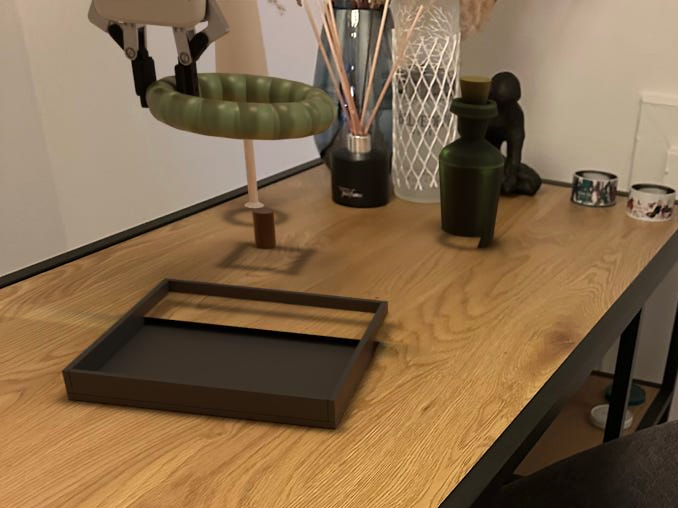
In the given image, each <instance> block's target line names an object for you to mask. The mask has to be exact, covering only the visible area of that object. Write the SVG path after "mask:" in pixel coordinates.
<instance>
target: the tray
mask: <svg viewBox="0 0 678 508" xmlns="http://www.w3.org/2000/svg"><path fill="white" fill-rule="evenodd" d="M169 293H179V294H187V295H199V296H208V297H209V296H210V297H218V298H227V299H237V300H246V301H254V302H255V301H256V302H264V303H265V302H266V303H275V304H284V305H293V306H294V305H295V306H304V307H312V308H321V309H322V308H323V309H331V310H333V309H334V310H341V311H342V310H343V311H349V312H350V311H352V312H361V313H369V314H370V313H371V314H374V315H373V317H372V318H371V320H370V322H369V324H368V325H367V328H366V329H365V331H364V333H363V335H362V336H361V339H360V338H359V339H358V338H349V337H339V336H331V335H321V334H311V333H304V332H303V333H302V332H292V331H284V330H273V329H266V328H264V329H263V328H255V327H247V326H237V325H226V324H218V323H209V322H208V323H207V322H198V321H191V320H190V321H189V320H181V319H170V318H162V317H161V318H160V317H153V316H151V317H150V316H146V315H147V314H148V313H150V311H151V310H152V309H153V308H154V307H155V306H157V305H158V304H159V303H160V302H161V301H162V300H163V299H164V298H165V297H166V296H168V295H169ZM388 313H389V301H388V300H379V299H370V298H360V297H351V296H342V295H341V296H340V295H333V294H322V293H313V292H302V291H293V290H284V289H275V288H265V287H256V286H245V285H236V284H226V283H217V282H207V281H198V280H188V279H179V278H168V277H164V278H163V279H162V280H161V281H160V282H158V283H157V285H155V286H154V287H153V288H152V289H151V290H150V291H149V292H148V293H147V294H145V295H144V296H143V297H142V298H141V299H140V300H139V301H138V302H136V304H134V305H133V306H131V308H130V309H129V310H128V311H126V312H125V313H123V315H122V316H121V317H120V318H119V319H117V321H115V322H114V323H113V324H112V325H111V326H110V327H109V328H107V329H106V330H105V331H104V332H103V333H102V334H101V335H99V337H98V338H96V339H95V340H94V341H93V342H92V343H91V344H89V345H88V346H87V347H86V348H85V349H84V350H83V351H82V352H80V353H79V355H77V356H76V357H75V358H74V359H73V360H72V361H71V362H70V363H69V364H67V365H66V366H65V367H64V368H63V369H62V370H61V373H62V378H63V383H64V386H65V387H64V388H65V391H66V395H67V399H68V400H72V401H82V402H91V403H101V404H109V405H115V406H116V405H117V406H127V407H136V408H145V409H153V410H161V411H162V410H163V411H170V412H181V413H190V414H197V415H206V416H207V415H208V416H214V417H215V416H216V417H217V416H218V417H225V418H235V419H243V420H251V421H263V422H272V423H279V424H288V425H297V426H305V427H306V426H308V427H316V428H324V429H335V430H336V429H337V427H338V425H339V423H340V422H341V419H342V417H343V415H344V413H345V411H346V409H347V408H348V405H349V403H350V401H351V399H352V397H353V396H354V393H355V391H356V390H357V387H358V386H359V384H360V381H361V380H362V378H363V376H364V374H365V372H366V370H367V368H368V366H369V364H370V362H371V360H372V358H373V356H374V354H375V352H376V350H377V349H378V346H379V344H380V341H378V340H375V338H376V336H377V335H378V333H379V330H380V329H381V327H382V324H383V323H384V321H385V319H386V318H387V315H388Z"/></svg>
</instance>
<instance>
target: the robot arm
mask: <svg viewBox="0 0 678 508" xmlns="http://www.w3.org/2000/svg"><path fill="white" fill-rule="evenodd" d="M87 19H88V21H89V22H90V23H91V24H93V25H94V26H96V28H98V29H99V30H101V31H103V32H104V33H105V34H107V35H109V37H110V38H111V39H112V40H113V41H114V42H115V43H116V44H117V45H118V46H119V48H120V49H121V50H122V51H123V52H124V56H125V57H126V58H127V59H128V60H129V61H130V62H131V63H130V64H131V73H132V77H133V79H132V80H133V85H134V91H135V95H136V96H137V97H139V103H140V106H141V108H142V109H149V107H148V105H147V102H146V91H147V88H148V87H149V85H150V84H151V83H153V82H155V81H157V80H158V78H157V72H156V63H155V60H154V58H153V56H150V53H149V50H148V32H147V26H158V27H169V28H172V33H173V38H174V43H175V47H176V52H177V63H176V64H175V65H174V67H173V68H174V69H173V70H174V75H175V79H176V87H177V92H179V93H181V94H186V95H190V96H195V97H199V96H200V95H199V85H198V75H197V73H198V67H197V66H198V65H197V62H198V61H200V59H201V56H202V55H203V54H204V53H205V51H206V50H207V49H208V48H209V47H210V45H211V44H213V43H215V41H216V40H218V39H220V38H221V37H223V36H225V35H226V34H228V33H229V30H230V28H229V25H228V23H227V21H226V19H225V17H224V16H223V14H222V12H221V10H220V8H219V6H218V4H217V2H216V0H91V2H90V4H89V9H88V12H87ZM205 22H207V26H206V27H205V28H203V29H202V30H200V31H198V32H197V30H196V26H197V25H198V24H201V23H205Z"/></svg>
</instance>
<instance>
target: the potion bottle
mask: <svg viewBox="0 0 678 508" xmlns="http://www.w3.org/2000/svg"><path fill="white" fill-rule="evenodd" d="M458 79H459V87H460V95H461V96H460V97H455V98H452V100H451V103H450V106H449V108H448V109H449V110H448V111H449V113H451V114H453V115H455V116H456V117H457V122H458V127H459V128H458V129H459V134H460V137H459V138H456V139H454V140H453V141H452V142H450V143H448V144H446V145H445V146H443V147H442V149H441V150H440V152H439V154H438V159H437V160H438V181H439V182H438V183H439V198H440V199H439V200H440V222H441V223H440V224H441V231H443V232H445V233H447V234H448V235H452V236H457V237H462V238H479V241H478V244H477V246H476V248H477V249H481V248H485V247H488V246H489V245H490V244H491V243H493V241H494V235H495V229H496V228H495V227H496V222H497V214H498V210H499V209H498V208H499V202H500V195H501V188H502V181H503V175H504V168H505V159H504V156H503V154H502V151H501V150H500V149H498V148H497V147H496V146H495V145H493V143H491V142H490V141H488V140H487V139H486V138H485V137H486V134H487V130H488V127H489V123H490V119H492V118H494V117H496V116H499V111H498V105H497V101H496V100H493V99H489V95H490V90H491V87H492V86H491V85H492V82H493V79H492V78H490V77H486V76H480V75H461V76H459V77H458Z"/></svg>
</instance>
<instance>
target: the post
mask: <svg viewBox="0 0 678 508" xmlns="http://www.w3.org/2000/svg"><path fill="white" fill-rule="evenodd" d="M251 213H252V226H253V235H254V236H253V237H254V246H255V248H257V249H260V250H271V249H274V248H276V247H277V236H276V235H277V234H276V222H275V221H276V220H275V210H274V209H272V208H269V207H260V208H252V211H251Z"/></svg>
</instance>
